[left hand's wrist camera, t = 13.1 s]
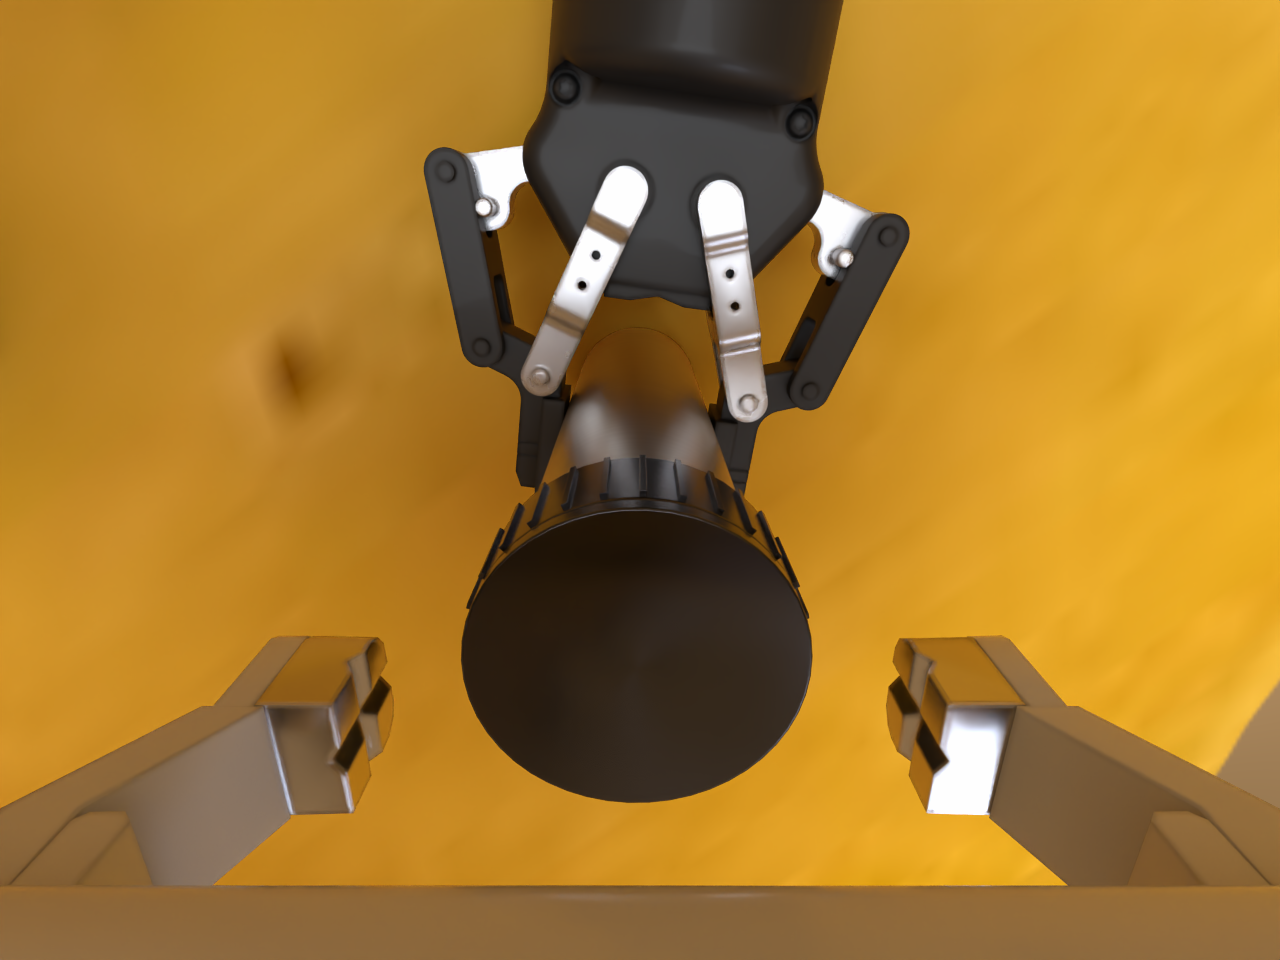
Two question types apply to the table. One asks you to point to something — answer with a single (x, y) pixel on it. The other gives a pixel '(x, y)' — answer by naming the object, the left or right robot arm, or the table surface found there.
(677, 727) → the lid
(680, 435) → the bottle
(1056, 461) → the table surface
